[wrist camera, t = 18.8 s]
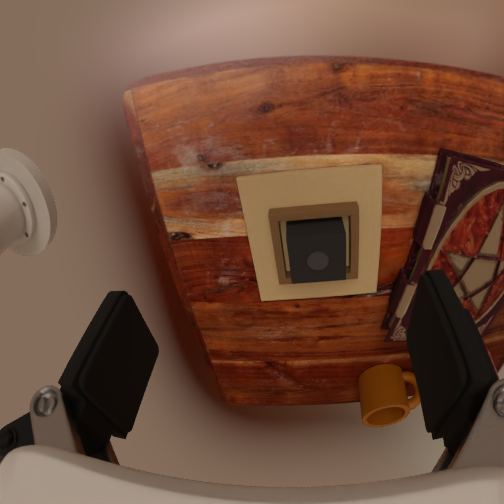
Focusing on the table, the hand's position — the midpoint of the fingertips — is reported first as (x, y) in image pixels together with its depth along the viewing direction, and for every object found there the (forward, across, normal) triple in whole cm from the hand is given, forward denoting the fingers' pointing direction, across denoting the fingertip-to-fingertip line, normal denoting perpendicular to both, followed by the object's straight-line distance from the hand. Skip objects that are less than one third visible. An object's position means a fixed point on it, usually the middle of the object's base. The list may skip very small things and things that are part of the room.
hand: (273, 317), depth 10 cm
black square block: (+26, -2, +14) cm, 29 cm away
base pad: (+26, -2, +14) cm, 30 cm away
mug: (+26, -15, +46) cm, 55 cm away
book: (+26, -24, +19) cm, 40 cm away
